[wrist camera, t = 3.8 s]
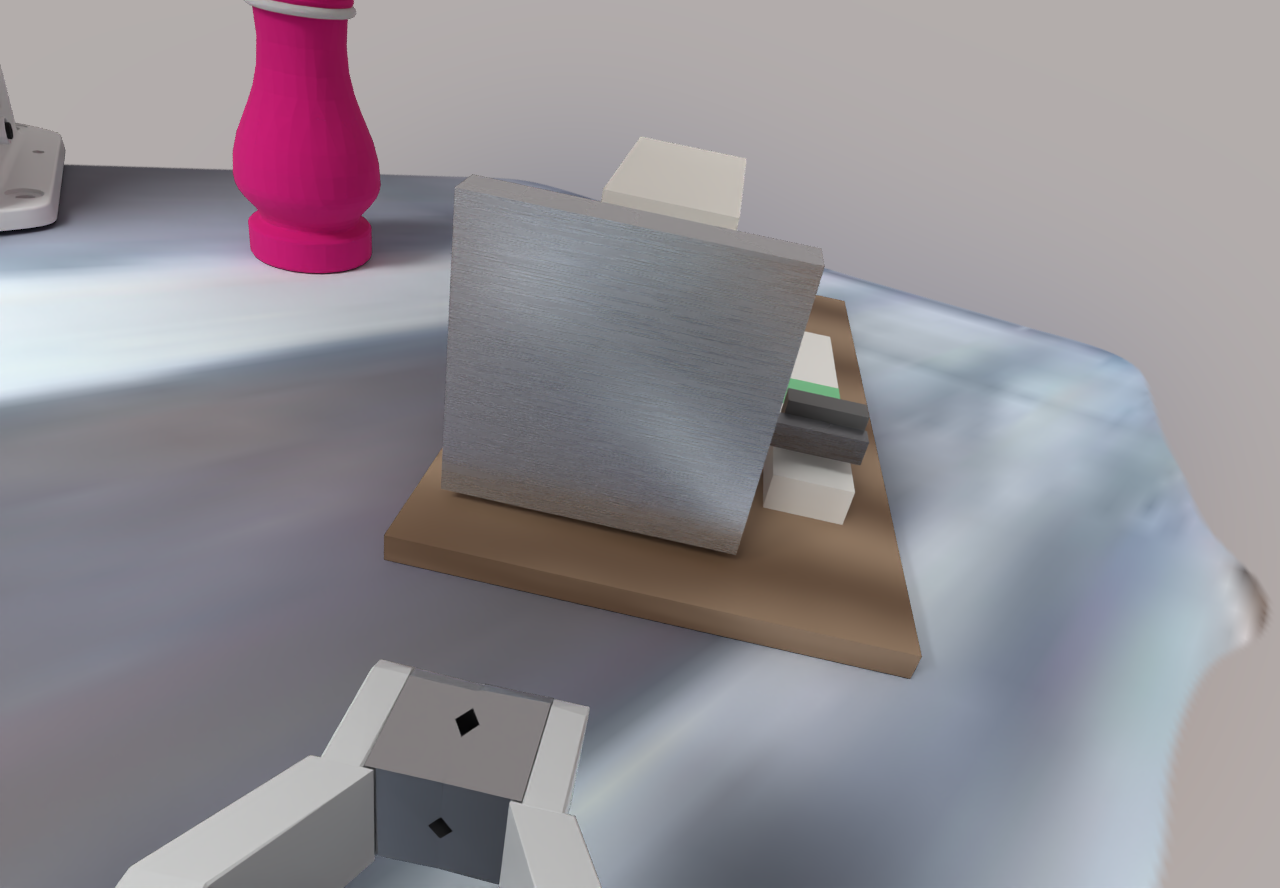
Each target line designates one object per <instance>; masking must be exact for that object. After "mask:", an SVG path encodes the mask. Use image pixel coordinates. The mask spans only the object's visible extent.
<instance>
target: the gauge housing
mask: <svg viewBox="0 0 1280 888" xmlns="http://www.w3.org/2000/svg"><path fill="white" fill-rule="evenodd" d="M745 167H746V158H740V157H736V156H731V155H727V154H722V153H717V152H712V151H707V150H702V149H698V148H693V147H689V146H683V145H679V144H674V143H669V142H664V141H660V140H655V139H651V138H646V137H640V139H639V140H638V141H637V143H636V144H635V145H634V147H633V148H632V150H631V151H630V152H629V154H628V155H627V157H626V158H625V159H624V161H623V162H622V163H621V165H620V166H619V168H618V169H617V171H616V172H615V173H614V174H613V176H612V177H611V179H610V180H609V182H608V183H607V184H606V186H605V187H604V189H603V193H602V199H601V202H605V203H609V204H614V205H619V206H623V207H628V208H633V209H638V210H642V211H647V212H652V213H656V214H661V215H666V216H670V217H675V218H680V219H685V220H689V221H694V222H699V223H703V224H708V225H713V226H717V227H722V228H727V229H732V230H736V231H737V227H738V223H739V219H740V211H741V202H742V193H743V184H744V176H745Z"/></svg>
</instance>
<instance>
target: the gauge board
mask: <svg viewBox="0 0 1280 888" xmlns="http://www.w3.org/2000/svg"><path fill="white" fill-rule="evenodd" d="M805 332H810V333H814V334H819V335H824V336H828V337H830V339H831V345H832V352H833V358H834V364H835V370H836V377H837V383H838V389H839V394H840V399H842V400H847V401H851V402H856V403H861V404H865V405H867V403H866V398H865V394H864V389H863V384H862V380H861V375H860V371H859V366H858V361H857V357H856V352H855V348H854V343H853V339H852V334H851V329H850V325H849V320H848V316H847V311H846V306H845V302H844V301H841V300H837V299H832V298H827V297H823V296H818V295H816V296H815V299H814V303H813V306H812V309H811V312H810V316H809V319H808V322H807V325H806V329H805ZM867 408H868V407H867ZM868 413H869V412H868ZM865 431H867V434H868V439H869V445H868V447H867V450H866V452H865V455H864V458H863V460H862V463H861V465H856V464H851V463H850V464H851V470H852V477H853V483H854V489H855V494H854V497H853V499H852V502H851V504H850V507H849V509H848V512H847V515H846V517H845V520H844V522H843V525H840V524H836V523H831V522H827V521H822V520H818V519H813V518H809V517H804V516H800V515H795V514H791V513H786V512H782V511H777V510H773V509H768V508H764V507H763V469H762V472H761V475H760V479H759V482H758V485H757V488H756V492H755V495H754V498H753V501H752V505H751V508H750V511H749V514H748V518H747V521H746V524H745V528H744V531H743V534H742V537H741V541H740V544H739V547H738V550H737V554H736V555H734V554H730V553H725V552H721V551H716V550H712V549H707V548H703V547H698V546H694V545H689V544H685V543H680V542H676V541H672V540H667V539H663V538H658V537H654V536H649V535H645V534H640V533H636V532H631V531H627V530H622V529H618V528H613V527H609V526H605V525H600V524H596V523H591V522H587V521H582V520H578V519H573V518H569V517H564V516H560V515H555V514H551V513H546V512H542V511H538V510H533V509H529V508H524V507H520V506H515V505H511V504H506V503H502V502H497V501H493V500H488V499H484V498H479V497H475V496H471V495H466V494H462V493H457V492H453V491H448V490H444V489H441V475H442V453H443V448H442V449H441V451H440V452H439V454H438V455H437V457H436V458H435V460H434V461H433V463H432V464H431V466H430V467H429V469H428V470H427V472H426V473H425V475H424V476H423V478H422V479H421V481H420V482H419V484H418V485H417V487H416V488H415V490H414V491H413V493H412V494H411V496H410V497H409V499H408V500H407V502H406V503H405V505H404V506H403V508H402V509H401V511H400V512H399V514H398V515H397V517H396V518H395V520H394V521H393V523H392V524H391V526H390V527H389V529H388V530H387V532H386V533H385V535H384V560H389V561H393V562H398V563H402V564H406V565H411V566H415V567H420V568H424V569H429V570H433V571H437V572H442V573H446V574H451V575H455V576H459V577H464V578H468V579H473V580H477V581H481V582H486V583H490V584H495V585H499V586H503V587H508V588H512V589H517V590H521V591H526V592H530V593H534V594H539V595H543V596H548V597H552V598H556V599H561V600H565V601H570V602H574V603H578V604H583V605H587V606H592V607H596V608H600V609H605V610H609V611H614V612H618V613H623V614H627V615H631V616H636V617H640V618H645V619H649V620H653V621H658V622H662V623H667V624H671V625H675V626H680V627H684V628H689V629H693V630H697V631H702V632H706V633H711V634H715V635H720V636H724V637H728V638H733V639H737V640H742V641H746V642H750V643H755V644H759V645H764V646H768V647H772V648H777V649H781V650H786V651H790V652H795V653H799V654H803V655H808V656H812V657H817V658H821V659H825V660H830V661H834V662H839V663H843V664H847V665H852V666H856V667H861V668H865V669H869V670H874V671H878V672H883V673H887V674H892V675H896V676H900V677H905V678H909V679H911V677H912V675H913V673H914V671H915V669H916V667H917V665H918V663H919V661H920V659H921V657H922V655H921V651H920V646H919V642H918V637H917V633H916V628H915V623H914V619H913V614H912V610H911V605H910V600H909V596H908V591H907V587H906V582H905V577H904V573H903V568H902V564H901V559H900V554H899V550H898V545H897V541H896V536H895V531H894V527H893V522H892V518H891V513H890V508H889V504H888V499H887V495H886V490H885V486H884V481H883V476H882V472H881V467H880V463H879V458H878V453H877V449H876V444H875V440H874V435H873V430H872V426H871V421H870V418H869V421H868V424H867V426H866V429H865Z"/></svg>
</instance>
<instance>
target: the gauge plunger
mask: <svg viewBox="0 0 1280 888" xmlns="http://www.w3.org/2000/svg"><path fill="white" fill-rule="evenodd" d="M824 267H825V266H824V260H823V254H822V249H821V248H816V247H811V246H807V245H802V244H797V243H792V242H788V241H783V240H778V239H774V238H769V237H764V236H760V235H755V234H750V233H746V232H741V231H736V230H732V229H727V228H722V227H717V226H713V225H708V224H703V223H699V222H694V221H689V220H685V219H680V218H675V217H670V216H666V215H661V214H656V213H652V212H647V211H642V210H638V209H633V208H628V207H623V206H619V205H614V204H609V203H605V202H600V201H595V200H591V199H586V198H581V197H576V196H572V195H567V194H562V193H558V192H553V191H548V190H544V189H539V188H534V187H529V186H525V185H520V184H515V183H511V182H506V181H501V180H497V179H492V178H487V177H483V176H477V175H471V176H470V177H468V178H467V179H466V180H464V181H463V182H461V183H460V184H459V185H457V186H456V187H455V196H454V217H453V239H452V260H451V282H450V303H449V325H448V346H447V368H446V389H445V410H444V432H443V453H442V475H441V489H444V490H448V491H453V492H457V493H462V494H466V495H471V496H475V497H479V498H484V499H488V500H493V501H497V502H502V503H506V504H511V505H515V506H520V507H524V508H529V509H533V510H538V511H542V512H546V513H551V514H555V515H560V516H564V517H569V518H573V519H578V520H582V521H587V522H591V523H596V524H600V525H605V526H609V527H613V528H618V529H622V530H627V531H631V532H636V533H640V534H645V535H649V536H654V537H658V538H663V539H667V540H672V541H676V542H680V543H685V544H689V545H694V546H698V547H703V548H707V549H712V550H716V551H721V552H725V553H730V554H734V555H736V554H737V550H738V547H739V544H740V541H741V537H742V534H743V531H744V528H745V524H746V521H747V518H748V514H749V511H750V508H751V505H752V501H753V498H754V495H755V492H756V488H757V485H758V482H759V479H760V475H761V472H762V469H763V466H764V462H765V459H766V456H767V453H768V449H769V446H774V447H778V448H783V449H787V450H792V451H797V452H801V453H806V454H810V455H815V456H819V457H824V458H828V459H833V460H838V461H842V462H847V463H851V464H856V465H861V463H862V460H863V458H864V455H865V452H866V450H867V447H868V445H869V439H868V434H867V431H864V430H859V429H855V428H850V427H845V426H841V425H836V424H832V423H827V422H823V421H818V420H813V419H809V418H804V417H800V416H795V415H791V414H786V413H781V412H780V410H781V407H782V404H783V400H784V397H785V394H786V391H787V387H788V384H789V381H790V378H791V374H792V371H793V368H794V365H795V361H796V358H797V355H798V351H799V348H800V345H801V342H802V338H803V335H804V332H805V329H806V325H807V322H808V319H809V316H810V312H811V309H812V306H813V303H814V299H815V296H816V293H817V290H818V286H819V283H820V280H821V276H822V273H823V270H824Z"/></svg>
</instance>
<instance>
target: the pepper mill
mask: <svg viewBox="0 0 1280 888" xmlns="http://www.w3.org/2000/svg"><path fill="white" fill-rule="evenodd" d="M244 1H245V2H246V3H248V4H249V5H252V7H253V14H254V22H255V28H256V35H257V36H256V37H257V39H256V43H257V44H256V67H255V74H254V80H253V85H252V88H251V92H250V95H249V98H248V101H247V104H246V106H245V109H244V112H243V115H242V118H241V120H240V123H239V126H238V129H237V132H236V137H235V142H234V148H233V175H234V180H235V183H236V185H237V187H238V188H239V190H240V191H241V192H242V194H243V195H244V196H245V197H246V198H247V199H248V200H249V201H250V202H251V203H252V204H253V205H254V206H255V207H256V208H257V209H258V211H256V212H254V213H253V214H252V215H251V216H250V217H249V220H248V224H249V235H250V247H251V251H252V252H253V254H254V255H255V256H256V258H258V259H259V260H261V261H262V262H264V263H266V264H269V265H271V266H274V267H277V268H281V269H285V270H289V271H296V272H304V273H332V272H341V271H346V270H350V269H354V268H357V267H359V266H361V265H363V264H364V263H366V262H367V261H368V260H369V259H370V257H371V255H372V236H371V225H370V223H369V222H368V221H367V220H366V219H365V218H364V217H362V216H361V215H362V214H363V213H364V212H365V211H366V210H367V209H368V208H369V207H370V206H371V205H372V203H373V202H374V201H375V199H376V198H377V196H378V194H379V191H380V185H381V184H380V172H379V163H378V158H377V155H376V151H375V147H374V143H373V140H372V138H371V135H370V133H369V130H368V128H367V126H366V123H365V121H364V118H363V116H362V114H361V111H360V108H359V106H358V103H357V100H356V98H355V95H354V91H353V87H352V83H351V79H350V75H349V68H348V57H347V45H346V44H347V21H348V19H351V18H353V17H355V15H356V10H355V8H354V7H353V4H354V1H353V0H244Z"/></svg>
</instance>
